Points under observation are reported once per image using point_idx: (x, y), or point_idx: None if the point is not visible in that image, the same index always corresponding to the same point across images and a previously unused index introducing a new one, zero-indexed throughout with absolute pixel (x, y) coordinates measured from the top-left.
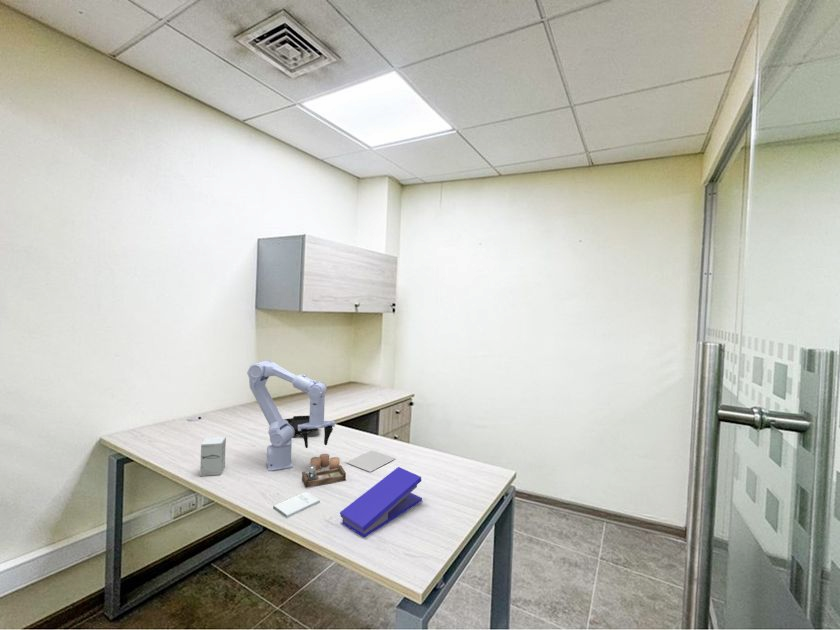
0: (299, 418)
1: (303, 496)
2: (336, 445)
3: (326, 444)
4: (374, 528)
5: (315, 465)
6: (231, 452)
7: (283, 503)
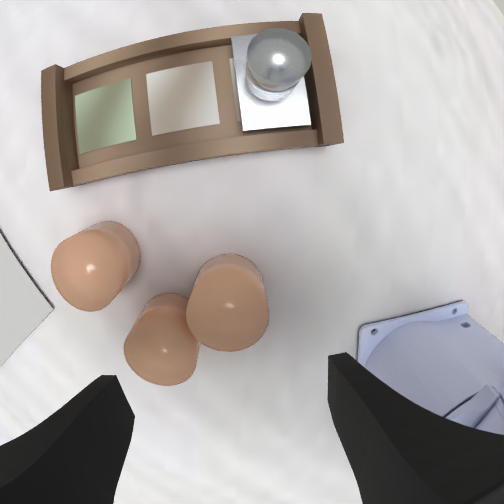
0: None
1: None
2: (131, 474)
3: (99, 377)
4: None
5: (230, 266)
6: None
7: None
